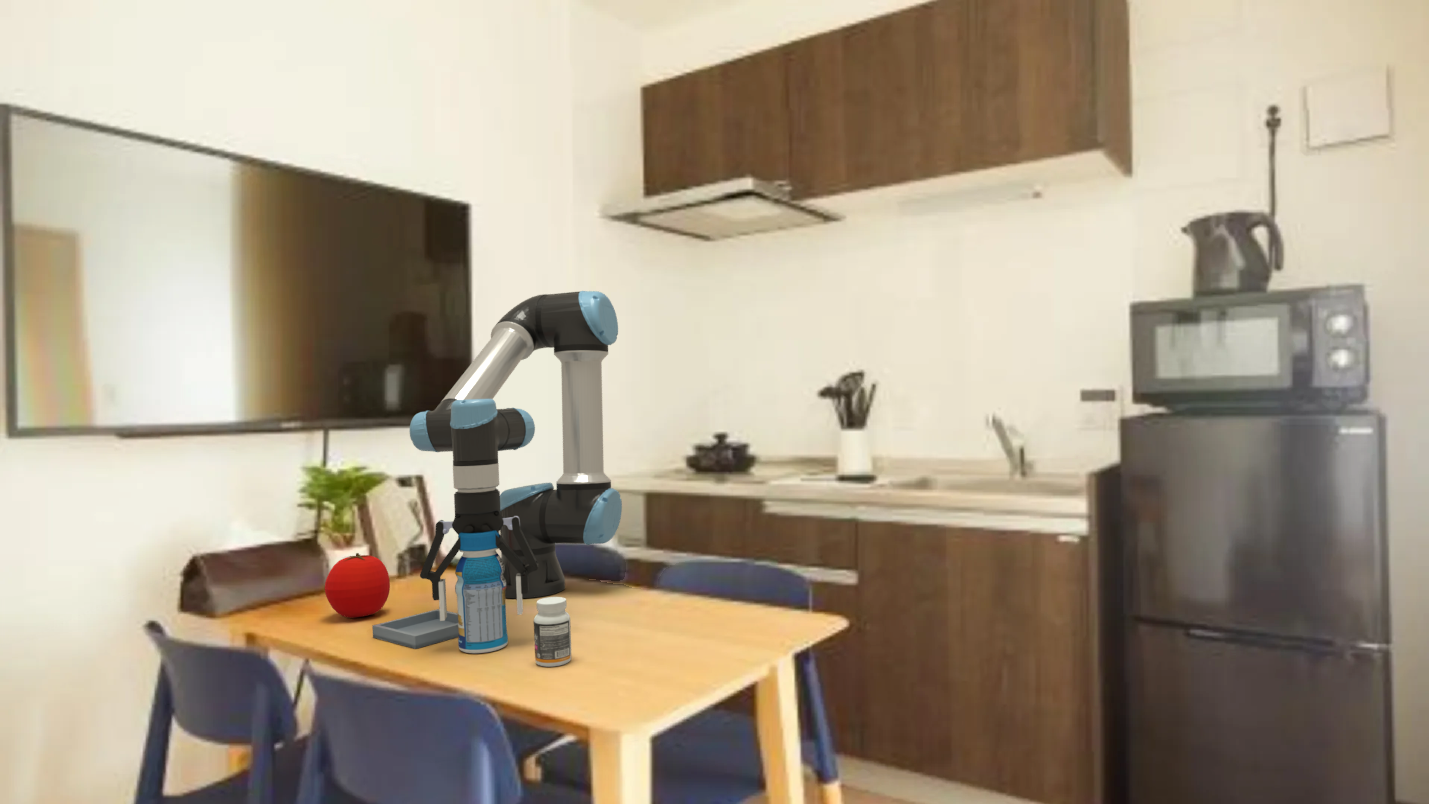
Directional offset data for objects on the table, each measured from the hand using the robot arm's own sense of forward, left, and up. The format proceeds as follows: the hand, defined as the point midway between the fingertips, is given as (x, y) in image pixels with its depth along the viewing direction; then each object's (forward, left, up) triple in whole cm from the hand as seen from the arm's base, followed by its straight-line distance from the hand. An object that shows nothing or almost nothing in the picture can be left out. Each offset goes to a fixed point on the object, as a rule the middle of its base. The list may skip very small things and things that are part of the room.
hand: (482, 615), depth 149 cm
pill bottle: (-12, +12, -6) cm, 18 cm away
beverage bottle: (0, 0, -6) cm, 6 cm away
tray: (+11, -12, -5) cm, 17 cm away
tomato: (+27, -30, -6) cm, 41 cm away
